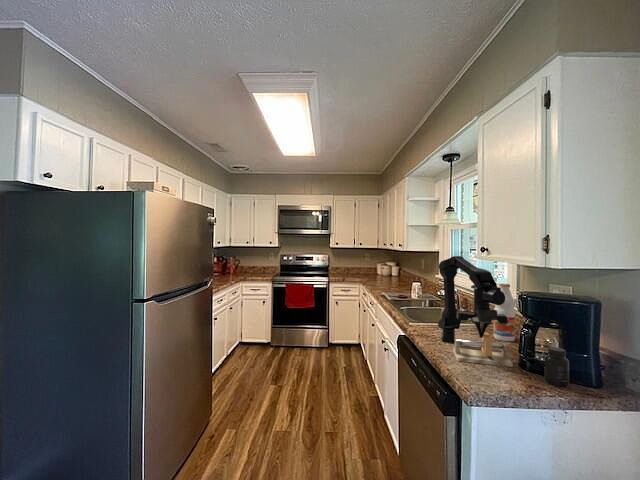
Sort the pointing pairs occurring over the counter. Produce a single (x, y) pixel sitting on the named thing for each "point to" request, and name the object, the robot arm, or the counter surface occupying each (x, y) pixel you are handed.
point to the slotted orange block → (487, 344)
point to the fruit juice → (507, 308)
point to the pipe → (480, 344)
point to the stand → (482, 356)
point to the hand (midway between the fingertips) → (481, 337)
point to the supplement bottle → (556, 367)
